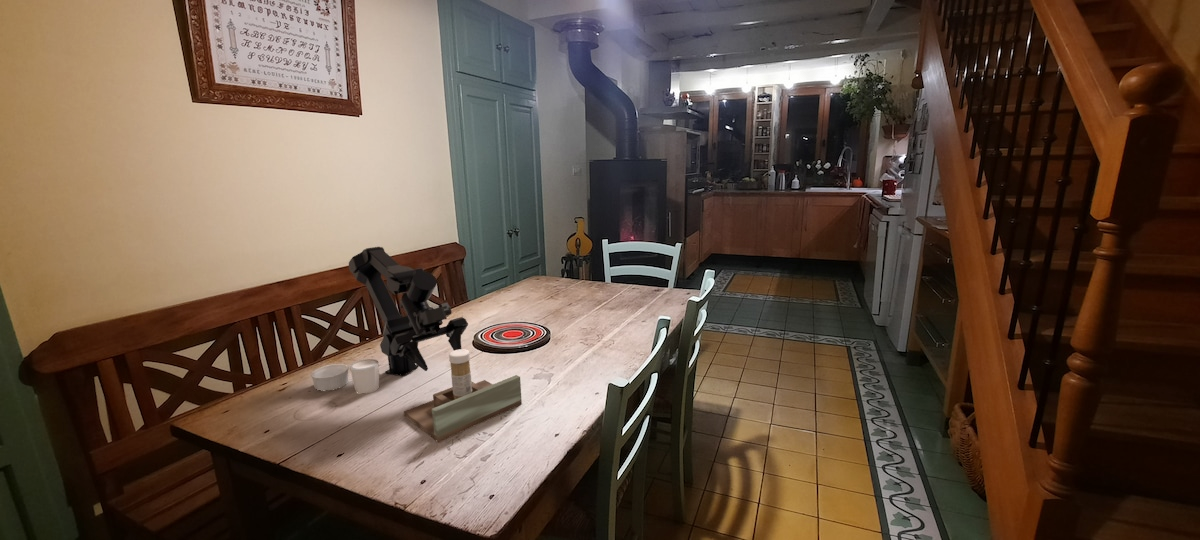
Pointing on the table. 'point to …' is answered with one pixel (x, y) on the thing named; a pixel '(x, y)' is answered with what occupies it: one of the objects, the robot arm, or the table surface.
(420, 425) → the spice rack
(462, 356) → the sprinkles bottle
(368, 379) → the shot glass
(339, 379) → the ramekin
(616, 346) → the table surface
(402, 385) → the table surface
